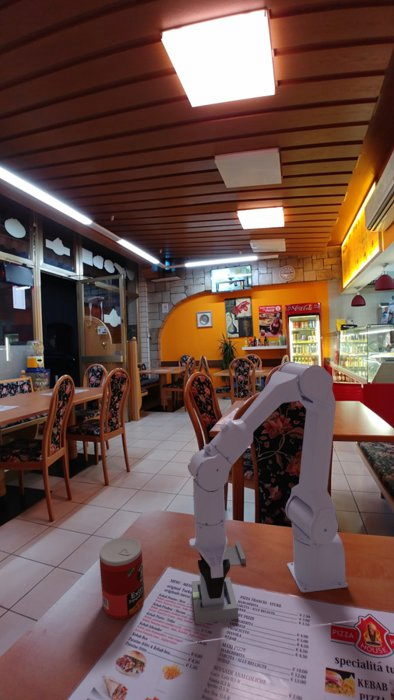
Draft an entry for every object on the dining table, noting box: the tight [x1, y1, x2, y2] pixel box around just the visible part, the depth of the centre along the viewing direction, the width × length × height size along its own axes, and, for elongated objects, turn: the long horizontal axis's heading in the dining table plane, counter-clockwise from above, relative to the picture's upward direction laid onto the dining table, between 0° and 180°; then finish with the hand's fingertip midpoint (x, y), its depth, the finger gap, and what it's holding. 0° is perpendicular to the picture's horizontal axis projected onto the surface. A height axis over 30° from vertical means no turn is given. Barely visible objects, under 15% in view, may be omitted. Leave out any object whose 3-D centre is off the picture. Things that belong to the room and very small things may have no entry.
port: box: [191, 576, 239, 625], centre depth 64 cm, size 8×8×2 cm
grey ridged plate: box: [224, 540, 247, 567], centre depth 77 cm, size 7×6×1 cm
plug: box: [198, 571, 226, 608], centre depth 63 cm, size 4×4×7 cm
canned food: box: [99, 536, 145, 620], centre depth 65 cm, size 8×8×11 cm
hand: (213, 587), depth 63 cm, fingers closed on plug, 4 cm apart
